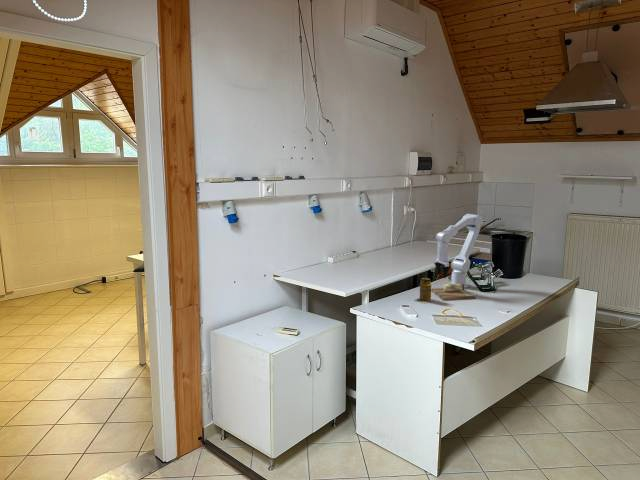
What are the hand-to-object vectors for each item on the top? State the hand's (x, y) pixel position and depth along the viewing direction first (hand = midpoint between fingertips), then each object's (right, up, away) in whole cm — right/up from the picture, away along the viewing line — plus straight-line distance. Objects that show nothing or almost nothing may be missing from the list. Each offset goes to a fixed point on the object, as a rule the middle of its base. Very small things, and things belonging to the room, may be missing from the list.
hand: (441, 276), depth 277 cm
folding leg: (+5, -7, -5) cm, 11 cm away
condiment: (-14, -12, -17) cm, 25 cm away
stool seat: (+4, -10, -8) cm, 13 cm away
